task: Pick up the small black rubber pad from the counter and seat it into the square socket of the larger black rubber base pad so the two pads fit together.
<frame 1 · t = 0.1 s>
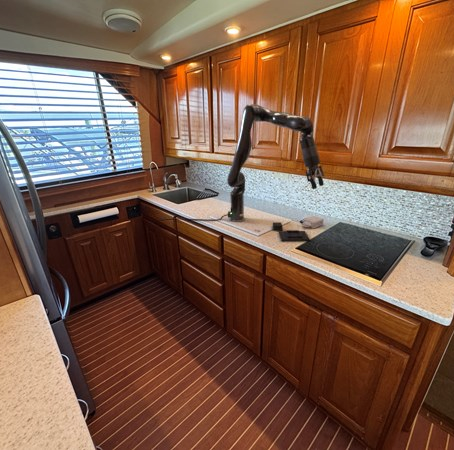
hand: (318, 187, 123), 31 cm above the countertop, tool tilted 20°, fingers open, 8 cm apart
base pad: (293, 236, 141), on the countertop
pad: (277, 228, 152), on the countertop
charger: (310, 226, 156), on the countertop
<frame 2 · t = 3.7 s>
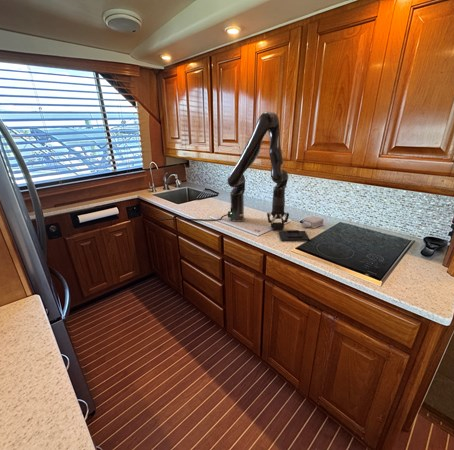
hand: (277, 228, 152), 1 cm above the countertop, tool pointing down, fingers closed on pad, 5 cm apart
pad: (277, 228, 152), on the countertop, touching gripper
everything else where it was.
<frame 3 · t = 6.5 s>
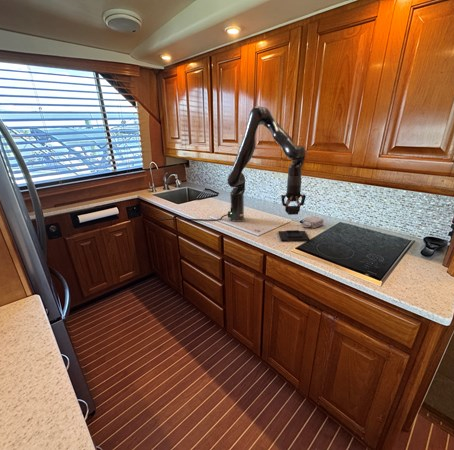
hand: (292, 212, 138), 15 cm above the countertop, tool pointing down, fingers closed on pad, 5 cm apart
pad: (292, 213, 138), point 14 cm above the countertop, touching gripper
everything else where it was.
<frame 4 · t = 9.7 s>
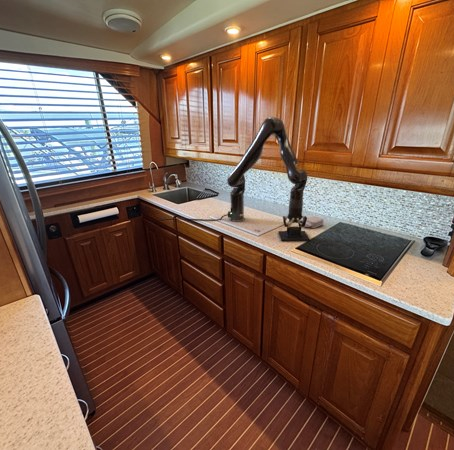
hand: (293, 232, 140), 3 cm above the countertop, tool pointing down, fingers closed on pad, 5 cm apart
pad: (293, 233, 140), point 2 cm above the countertop, touching gripper
everything else where it was.
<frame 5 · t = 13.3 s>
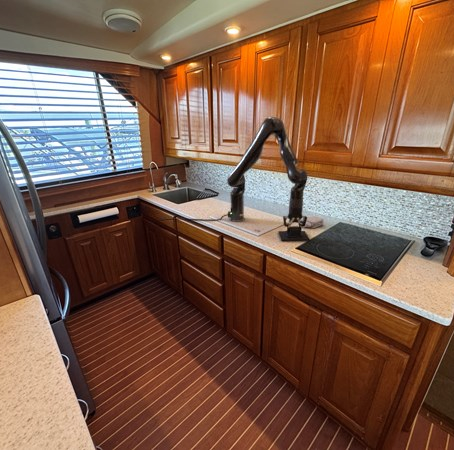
hand: (293, 232, 140), 3 cm above the countertop, tool pointing down, fingers closed on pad, 5 cm apart
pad: (293, 233, 140), point 2 cm above the countertop, touching gripper
everything else where it was.
when the fingers open (3 cm above the countertop, at t = 16.9 s): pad drops 2 cm, resting on base pad.
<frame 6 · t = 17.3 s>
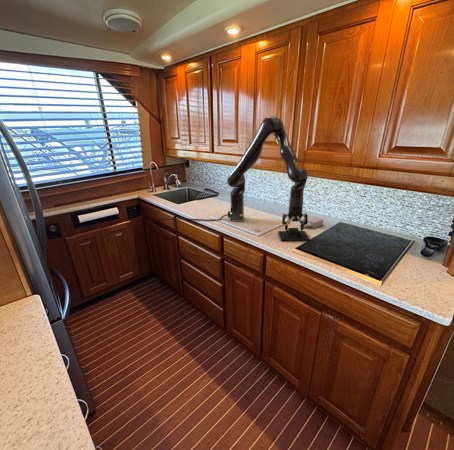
hand: (293, 230, 140), 4 cm above the countertop, tool pointing down, fingers open, 8 cm apart
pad: (293, 234, 141), point 1 cm above the countertop, touching base pad
everything else where it was.
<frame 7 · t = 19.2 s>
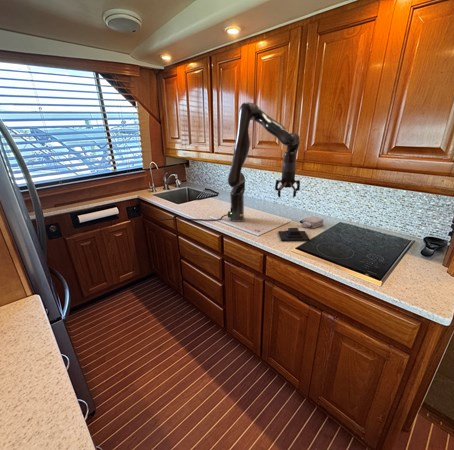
hand: (286, 197, 143), 22 cm above the countertop, tool pointing down, fingers open, 8 cm apart
nothing on the countertop moved.
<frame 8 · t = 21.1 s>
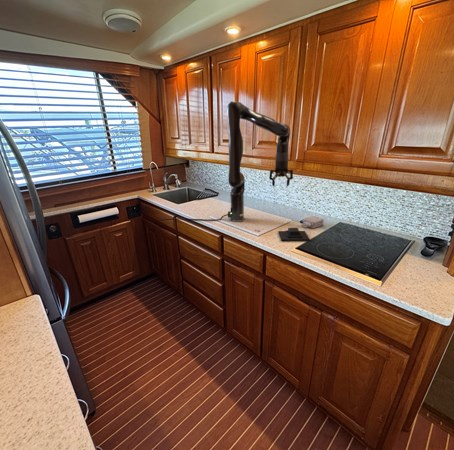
hand: (280, 186, 150), 26 cm above the countertop, tool pointing down, fingers open, 8 cm apart
nothing on the countertop moved.
at the end: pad 0.1 cm off-centre on the base pad, point 1.2 cm above the base pad's base; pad tilted 0° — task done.
